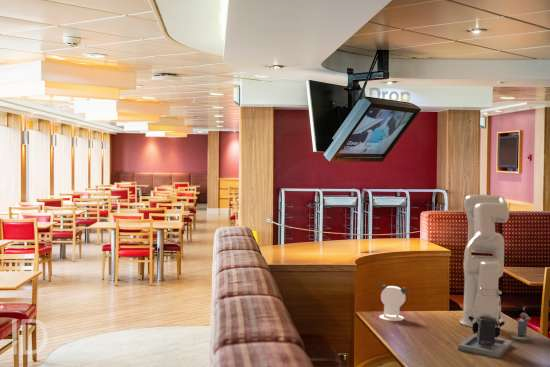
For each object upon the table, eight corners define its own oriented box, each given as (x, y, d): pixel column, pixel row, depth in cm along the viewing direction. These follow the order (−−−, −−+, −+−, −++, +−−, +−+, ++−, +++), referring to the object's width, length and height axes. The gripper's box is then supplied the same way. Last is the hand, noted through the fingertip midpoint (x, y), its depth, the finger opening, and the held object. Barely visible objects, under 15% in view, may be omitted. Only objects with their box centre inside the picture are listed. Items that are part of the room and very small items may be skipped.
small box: (495, 346, 261) (496, 320, 260) (478, 345, 262) (479, 319, 262) (492, 339, 271) (493, 314, 271) (475, 338, 273) (477, 312, 272)
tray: (473, 338, 280) (473, 333, 280) (511, 346, 271) (512, 340, 271) (457, 350, 263) (458, 344, 263) (498, 358, 254) (499, 352, 254)
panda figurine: (407, 316, 314) (408, 285, 313) (402, 322, 303) (404, 290, 302) (382, 313, 318) (383, 282, 317) (377, 319, 307) (378, 287, 306)
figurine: (534, 339, 281) (535, 311, 281) (529, 344, 274) (530, 315, 274) (514, 335, 286) (515, 308, 286) (508, 340, 279) (509, 312, 279)
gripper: (512, 293, 264) (510, 336, 265) (469, 287, 274) (467, 329, 275) (507, 296, 258) (505, 341, 259) (463, 290, 267) (461, 333, 268)
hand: (485, 334), depth 267 cm, fingers closed on small box, 8 cm apart
